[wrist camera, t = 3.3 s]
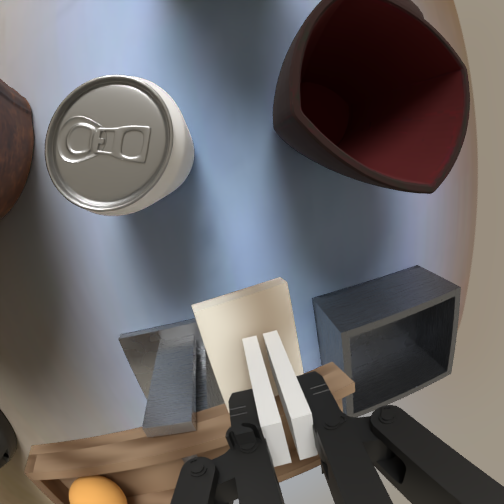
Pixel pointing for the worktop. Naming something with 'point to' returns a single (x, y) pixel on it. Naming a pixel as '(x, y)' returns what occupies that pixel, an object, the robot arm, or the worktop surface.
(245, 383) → the lever
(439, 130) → the cup
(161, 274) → the worktop surface
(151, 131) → the can
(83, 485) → the ball
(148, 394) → the stand
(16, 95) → the case
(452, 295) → the tin
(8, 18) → the worktop surface
